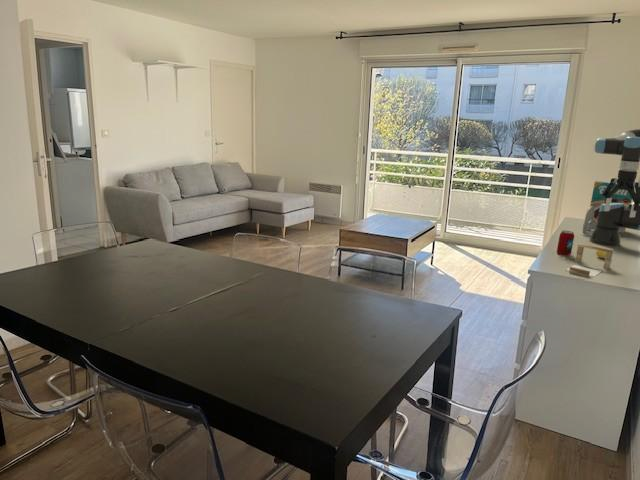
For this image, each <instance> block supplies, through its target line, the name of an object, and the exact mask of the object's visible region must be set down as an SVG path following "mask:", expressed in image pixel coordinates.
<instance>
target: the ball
mask: <svg viewBox="0 0 640 480" xmlns="http://www.w3.org/2000/svg"><path fill="white" fill-rule="evenodd" d="M606 253H607V252H605V251H600V250H595V254H596V256H597V257H598V258H599V259H605V257H606Z"/></svg>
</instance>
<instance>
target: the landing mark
mask: <svg viewBox="0 0 640 480" xmlns="http://www.w3.org/2000/svg"><path fill="white" fill-rule="evenodd" d="M570 267H575V268H579V269H584V270H588V271H590V274H589V277H592V278H595V277H596V276H598V275H599V274H600V273H601V272H602V270H599V269H593V268H589V267H587V266H586V267H585V266H580V265H577V264H573V265H571V266H570ZM570 267H568V268H567V269H565V271H568V272H569V270H570Z"/></svg>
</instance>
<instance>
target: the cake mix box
mask: <svg viewBox="0 0 640 480" xmlns="http://www.w3.org/2000/svg"><path fill="white" fill-rule="evenodd" d="M610 182H611V181H601V180H595V181H594V184H593V185H594V186H593V190H592V194H591V200H590V204H589V207H591V206H594V208H595V212H594V218H593V225H592V228H591V229H595V228H596V224H597V219H598V214H599V209H600V206H601V204H603V203H604V202H605V196H602V194H603V192H604V191H605V189H606V188H607V186H608V185H609V184H610ZM616 185H617V183H616V184H615V185H614V187H615V186H616ZM614 187H613V188H614ZM633 187H634V189H635V186H633ZM613 188H612V189H613ZM611 198H612V200H611V203H624V204H625V207H629V204H630V203H632V202H633V200H632V198H631V196H630V194H629V192H628V191H627V190H623V189H619V190H618V191H617V192H616V193H615V194H614V195H612V196H611ZM590 212H591V211H590ZM626 229H627V228H623V227H620V228H619V233H623V234H624V233H625V232H626Z"/></svg>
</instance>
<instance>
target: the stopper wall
mask: <svg viewBox="0 0 640 480" xmlns="http://www.w3.org/2000/svg"><path fill="white" fill-rule="evenodd" d="M569 268H570V270H569V271H568V273H570V274H574V275H578V276H583V277H586V278H589V277H590V276H589V274H590V271H588V270H584V269H579V268H575V267H571V266H569Z"/></svg>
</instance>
